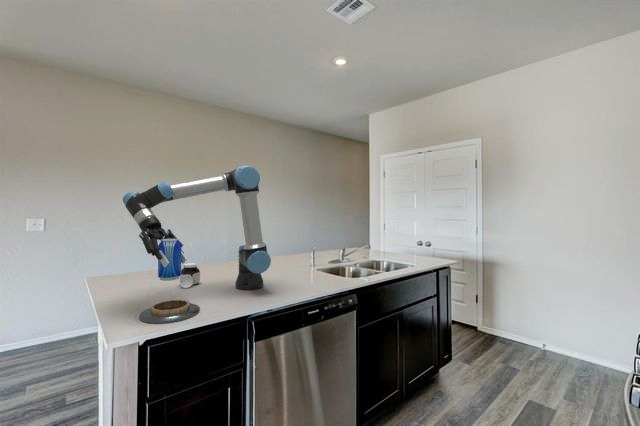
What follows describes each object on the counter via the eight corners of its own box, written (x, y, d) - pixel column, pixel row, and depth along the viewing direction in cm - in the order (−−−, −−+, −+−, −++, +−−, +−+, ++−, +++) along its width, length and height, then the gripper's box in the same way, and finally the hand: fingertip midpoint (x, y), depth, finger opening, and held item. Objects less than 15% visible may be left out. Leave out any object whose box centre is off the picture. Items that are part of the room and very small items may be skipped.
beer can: (159, 277, 125) (159, 238, 125) (181, 275, 128) (181, 238, 128) (157, 281, 117) (157, 240, 117) (180, 280, 120) (181, 240, 120)
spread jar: (196, 282, 175) (196, 262, 175) (204, 286, 167) (204, 265, 167) (174, 285, 167) (174, 264, 167) (181, 289, 159) (181, 267, 159)
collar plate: (191, 301, 138) (191, 294, 138) (206, 315, 121) (206, 307, 121) (135, 311, 125) (135, 303, 125) (143, 328, 108) (143, 318, 108)
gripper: (164, 226, 138) (191, 264, 132) (119, 229, 119) (147, 274, 113) (173, 215, 136) (200, 253, 130) (128, 216, 116) (158, 261, 111)
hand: (176, 263), depth 121 cm, fingers closed on beer can, 8 cm apart
